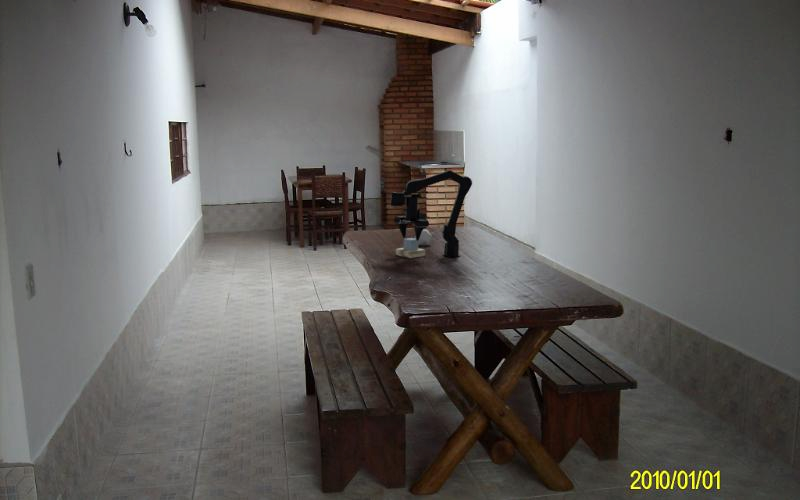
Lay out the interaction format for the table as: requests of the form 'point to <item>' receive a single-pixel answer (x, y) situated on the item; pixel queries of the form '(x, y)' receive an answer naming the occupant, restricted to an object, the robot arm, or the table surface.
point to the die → (424, 237)
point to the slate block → (410, 244)
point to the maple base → (410, 252)
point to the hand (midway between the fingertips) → (410, 239)
